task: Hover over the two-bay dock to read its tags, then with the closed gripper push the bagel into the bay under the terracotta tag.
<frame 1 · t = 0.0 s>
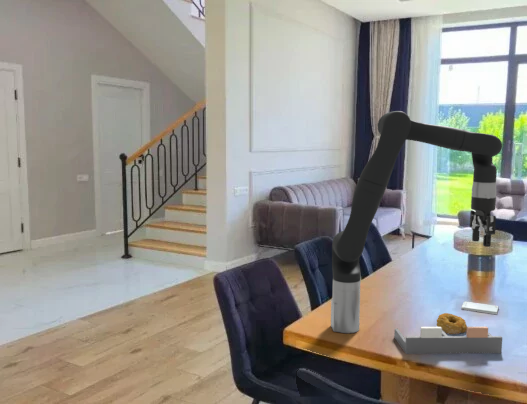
hand: (481, 243, 175), 29 cm above the table, tool pointing down, fingers open, 8 cm apart
hard drive: (479, 310, 198), on the table
bagel: (451, 330, 177), on the table
dock: (445, 345, 164), on the table
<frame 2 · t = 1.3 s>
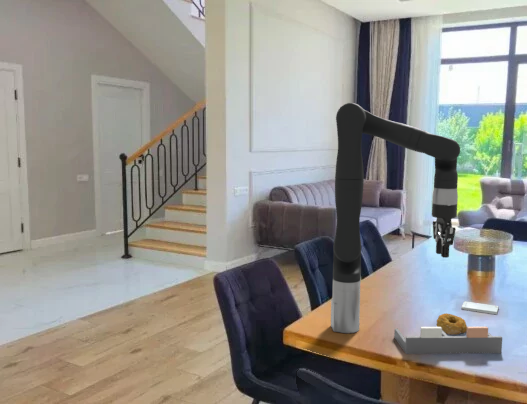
hand: (442, 255, 167), 27 cm above the table, tool pointing down, fingers open, 4 cm apart
nothing on the table moved.
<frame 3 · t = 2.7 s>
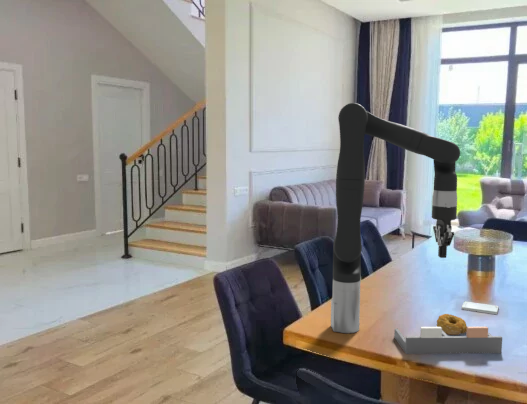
hand: (442, 257, 169), 26 cm above the table, tool pointing down, fingers closed
nothing on the table moved.
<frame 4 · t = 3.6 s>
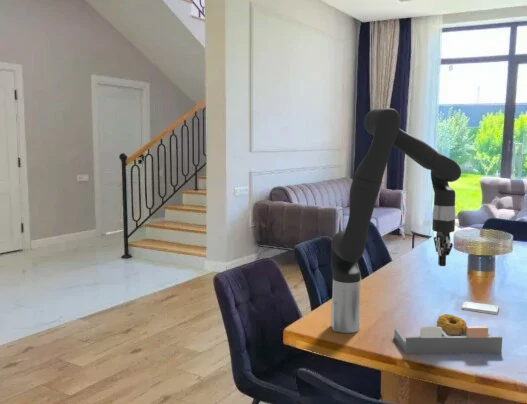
hand: (441, 265, 186), 19 cm above the table, tool pointing down, fingers closed
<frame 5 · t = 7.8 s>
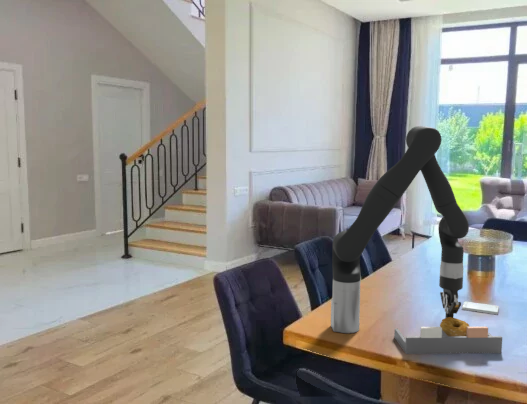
hand: (449, 323, 180), 1 cm above the table, tool pointing down, fingers closed
bagel: (455, 335, 173), on the table, touching gripper
everything else where it was.
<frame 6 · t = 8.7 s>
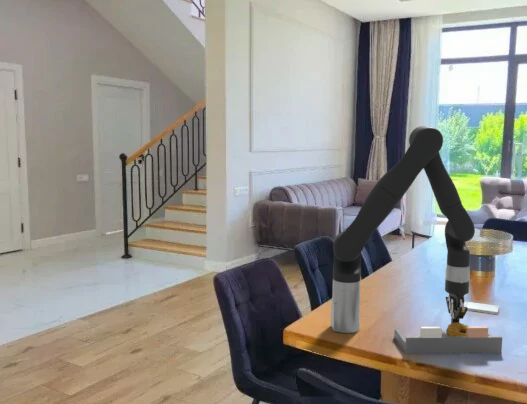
hand: (454, 328, 175), 1 cm above the table, tool pointing down, fingers closed
bagel: (461, 341, 168), on the table, touching gripper
everything else where it was.
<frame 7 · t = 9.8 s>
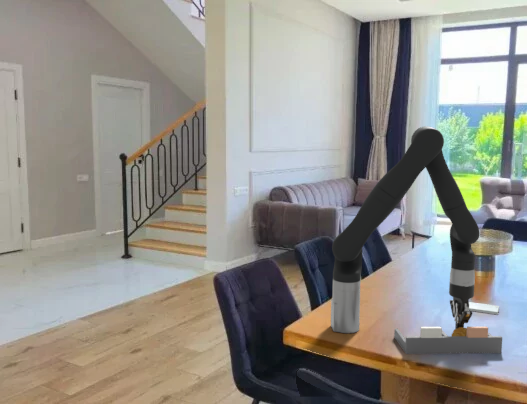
hand: (459, 333, 171), 1 cm above the table, tool pointing down, fingers closed
bagel: (467, 346, 164), on the table
everything else where it was.
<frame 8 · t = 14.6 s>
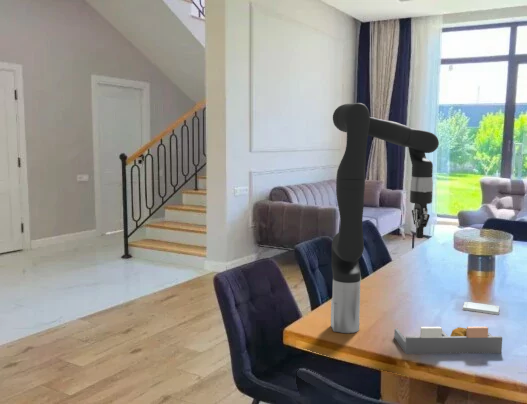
hand: (419, 237, 186), 29 cm above the table, tool pointing down, fingers closed
nothing on the table moved.
at the end: bagel inside the target area on the dock (0.4 cm from its centre), point -0.5 cm above the dock's base; bagel tilted 0°; the gripper is holding nothing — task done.
